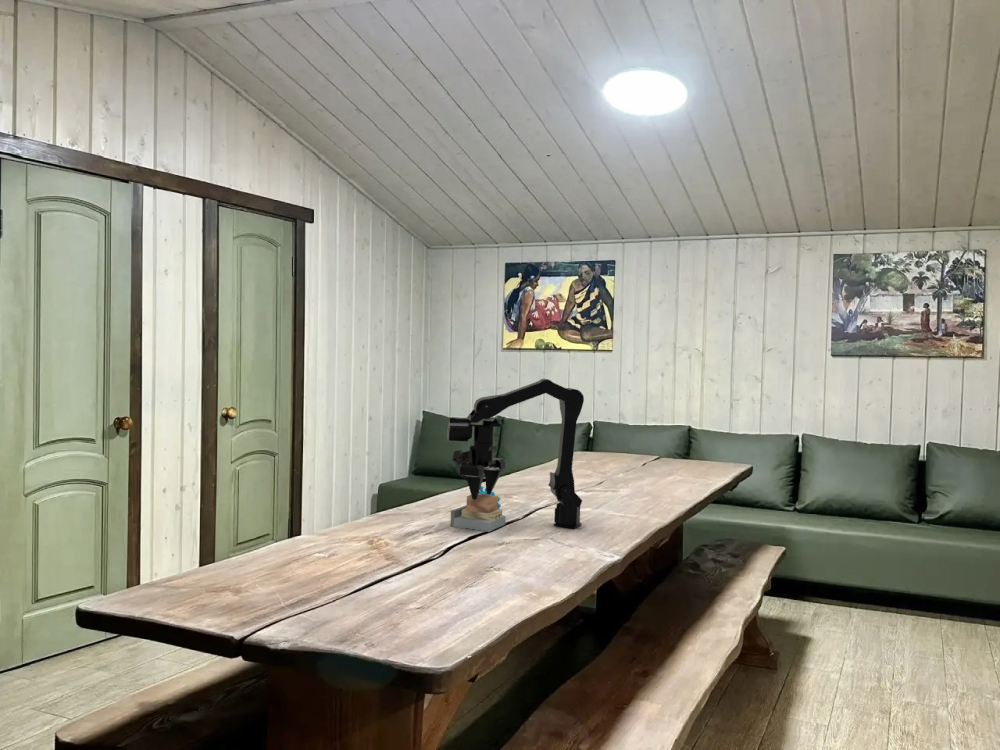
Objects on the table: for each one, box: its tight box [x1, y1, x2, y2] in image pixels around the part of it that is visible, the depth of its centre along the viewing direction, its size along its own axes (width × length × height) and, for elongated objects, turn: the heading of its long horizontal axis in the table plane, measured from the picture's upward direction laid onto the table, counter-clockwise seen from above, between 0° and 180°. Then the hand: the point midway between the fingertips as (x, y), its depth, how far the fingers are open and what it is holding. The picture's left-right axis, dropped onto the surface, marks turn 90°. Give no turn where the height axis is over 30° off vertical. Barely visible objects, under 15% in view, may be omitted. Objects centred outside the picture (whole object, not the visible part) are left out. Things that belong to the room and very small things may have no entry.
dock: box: [449, 504, 507, 533], centre depth 227 cm, size 12×11×4 cm
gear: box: [479, 485, 502, 510], centre depth 247 cm, size 11×6×10 cm
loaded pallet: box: [461, 493, 503, 521], centre depth 226 cm, size 10×6×6 cm, turn 65°
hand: (481, 496), depth 226 cm, fingers open, 9 cm apart
